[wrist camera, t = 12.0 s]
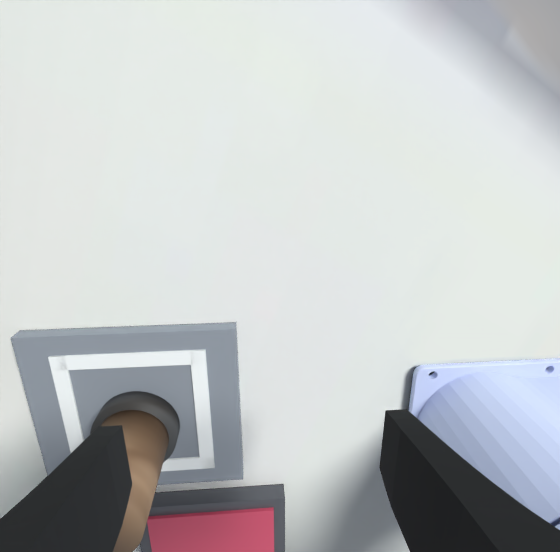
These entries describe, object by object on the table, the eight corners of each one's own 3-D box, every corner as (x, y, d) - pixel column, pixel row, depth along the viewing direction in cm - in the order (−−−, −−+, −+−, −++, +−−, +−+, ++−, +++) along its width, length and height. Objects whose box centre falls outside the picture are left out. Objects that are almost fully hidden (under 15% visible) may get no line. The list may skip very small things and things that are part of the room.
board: (236, 322, 20) (235, 330, 19) (243, 468, 23) (242, 480, 22) (20, 330, 19) (9, 338, 18) (58, 480, 22) (51, 493, 22)
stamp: (187, 399, 20) (162, 496, 15) (172, 461, 22) (144, 573, 16) (103, 384, 20) (43, 480, 14) (93, 449, 21) (34, 562, 15)
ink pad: (283, 484, 24) (284, 500, 23) (283, 560, 26) (285, 579, 25) (138, 494, 23) (133, 511, 22) (151, 571, 25) (147, 591, 24)
